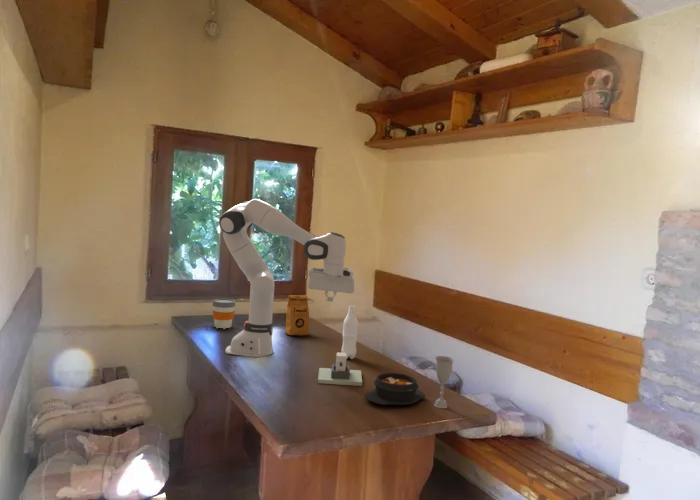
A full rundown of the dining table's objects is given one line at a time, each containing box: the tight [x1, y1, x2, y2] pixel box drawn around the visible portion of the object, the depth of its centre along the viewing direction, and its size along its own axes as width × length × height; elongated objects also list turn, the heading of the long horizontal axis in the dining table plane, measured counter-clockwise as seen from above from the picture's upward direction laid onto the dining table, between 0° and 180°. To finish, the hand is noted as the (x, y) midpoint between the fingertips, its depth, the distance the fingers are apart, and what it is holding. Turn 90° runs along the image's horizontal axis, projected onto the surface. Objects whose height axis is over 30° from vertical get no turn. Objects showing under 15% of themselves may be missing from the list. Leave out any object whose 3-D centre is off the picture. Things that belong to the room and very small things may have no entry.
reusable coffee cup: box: [212, 298, 236, 330], centre depth 303 cm, size 13×13×15 cm
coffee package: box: [284, 294, 310, 336], centre depth 298 cm, size 10×12×22 cm
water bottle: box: [340, 305, 359, 360], centre depth 258 cm, size 7×7×25 cm
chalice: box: [433, 355, 455, 409], centre depth 203 cm, size 7×7×18 cm
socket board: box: [317, 363, 363, 387], centre depth 227 cm, size 18×16×4 cm
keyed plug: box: [335, 352, 347, 371], centre depth 225 cm, size 4×9×9 cm, turn 1°
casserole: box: [363, 372, 426, 406], centre depth 206 cm, size 25×19×8 cm
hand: (329, 301), depth 237 cm, fingers closed
